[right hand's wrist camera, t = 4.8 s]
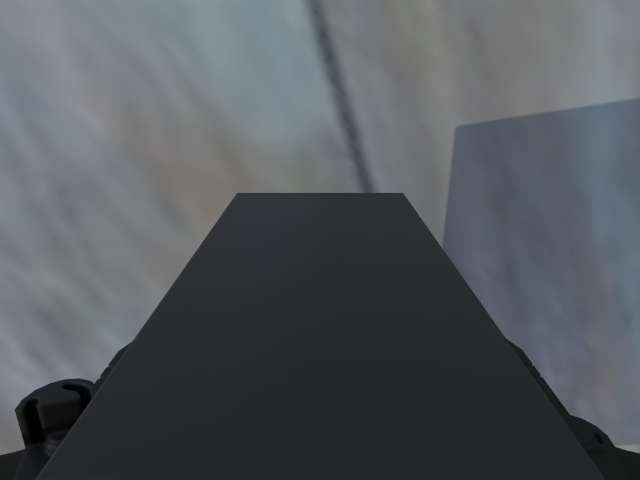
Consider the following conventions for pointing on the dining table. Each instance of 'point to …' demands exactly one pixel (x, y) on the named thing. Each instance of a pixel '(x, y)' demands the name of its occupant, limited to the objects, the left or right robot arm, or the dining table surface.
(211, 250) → the box
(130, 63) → the dining table surface
